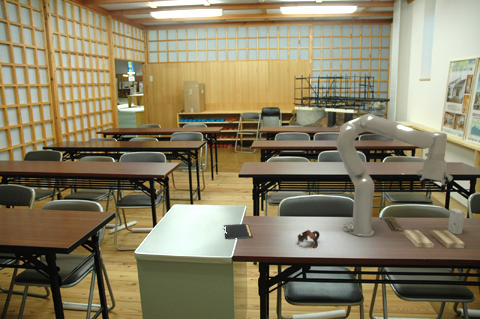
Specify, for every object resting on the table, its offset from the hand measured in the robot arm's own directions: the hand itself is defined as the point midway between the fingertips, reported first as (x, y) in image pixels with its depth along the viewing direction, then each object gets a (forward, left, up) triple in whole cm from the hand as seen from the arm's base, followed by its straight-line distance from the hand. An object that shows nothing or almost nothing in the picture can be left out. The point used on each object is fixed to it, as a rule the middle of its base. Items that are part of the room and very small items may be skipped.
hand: (432, 189), depth 180 cm
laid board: (+7, -6, -25) cm, 27 cm away
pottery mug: (-63, -11, -26) cm, 69 cm away
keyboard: (-13, +16, -26) cm, 33 cm away
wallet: (-101, +4, -26) cm, 104 cm away
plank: (-7, -6, -25) cm, 27 cm away
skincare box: (+17, +6, -26) cm, 31 cm away
